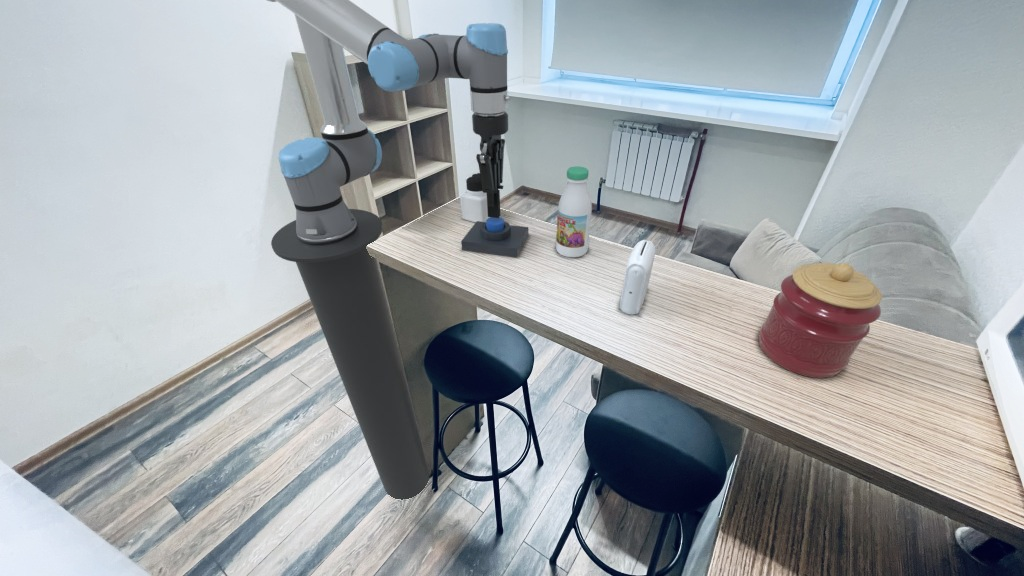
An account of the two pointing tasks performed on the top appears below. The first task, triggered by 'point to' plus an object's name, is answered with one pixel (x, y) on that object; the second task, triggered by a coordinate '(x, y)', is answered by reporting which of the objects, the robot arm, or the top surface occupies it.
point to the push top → (495, 224)
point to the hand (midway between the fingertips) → (494, 216)
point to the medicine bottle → (474, 200)
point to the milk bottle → (574, 215)
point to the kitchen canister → (820, 318)
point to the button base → (495, 239)
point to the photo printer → (637, 277)
